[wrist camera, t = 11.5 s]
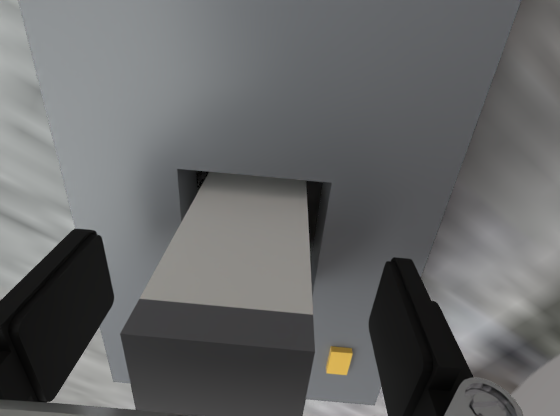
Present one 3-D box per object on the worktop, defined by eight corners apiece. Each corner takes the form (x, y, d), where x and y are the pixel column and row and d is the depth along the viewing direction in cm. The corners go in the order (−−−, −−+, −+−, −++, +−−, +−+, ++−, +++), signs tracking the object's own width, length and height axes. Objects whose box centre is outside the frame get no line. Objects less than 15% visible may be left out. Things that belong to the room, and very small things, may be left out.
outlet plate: (50, -89, 11) (-20, -117, 8) (494, -47, 11) (551, -64, 9) (132, 343, 21) (110, 386, 18) (366, 364, 21) (375, 411, 18)
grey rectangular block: (212, 164, 15) (120, 333, 7) (305, 173, 15) (315, 351, 7) (214, 241, 17) (142, 439, 9) (296, 248, 17) (294, 453, 9)
